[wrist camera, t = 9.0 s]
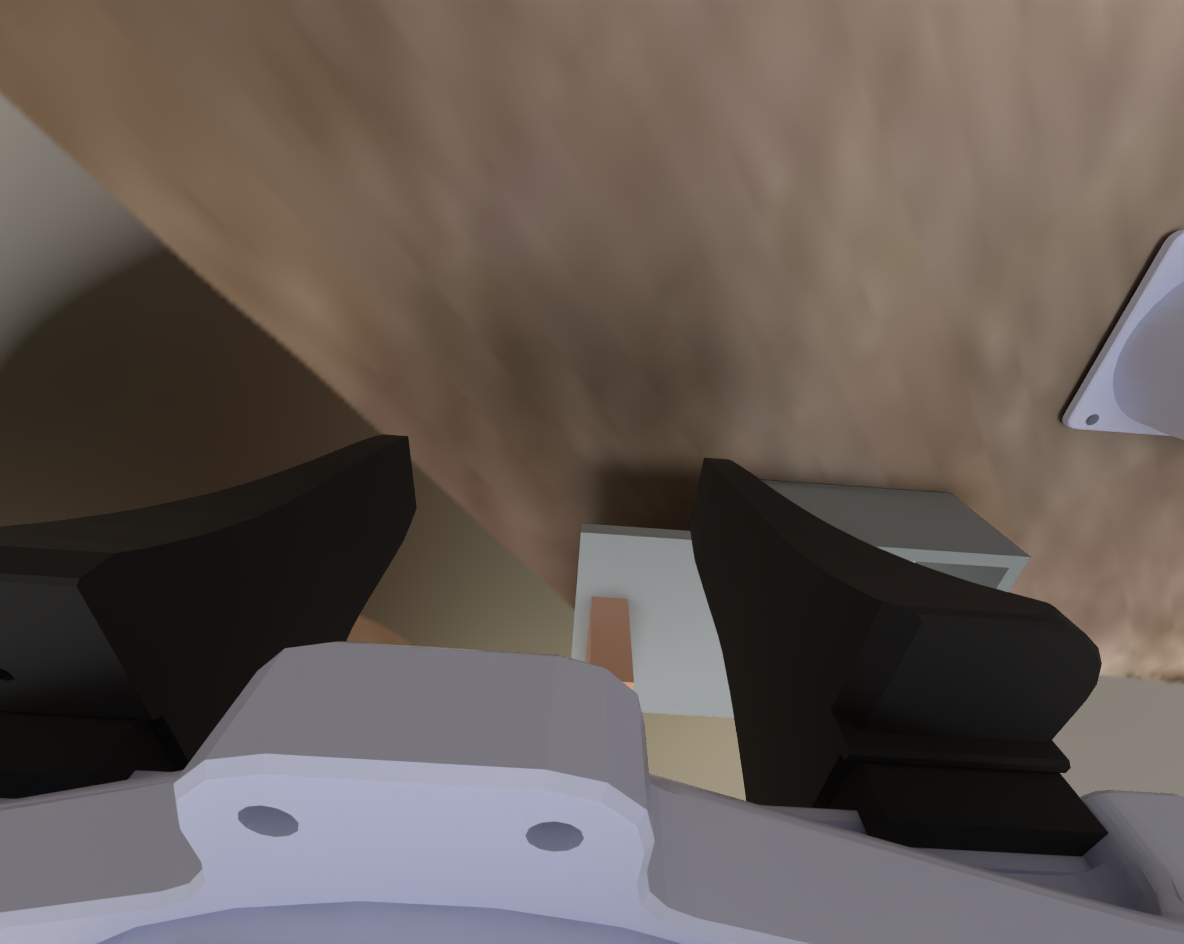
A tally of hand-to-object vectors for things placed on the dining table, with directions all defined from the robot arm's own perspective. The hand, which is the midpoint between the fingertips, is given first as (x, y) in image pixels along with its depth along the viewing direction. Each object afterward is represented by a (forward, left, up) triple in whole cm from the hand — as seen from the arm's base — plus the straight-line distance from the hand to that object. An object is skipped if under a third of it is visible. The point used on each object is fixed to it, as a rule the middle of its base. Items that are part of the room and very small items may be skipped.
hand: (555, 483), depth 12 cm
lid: (-6, +10, -5) cm, 13 cm away
